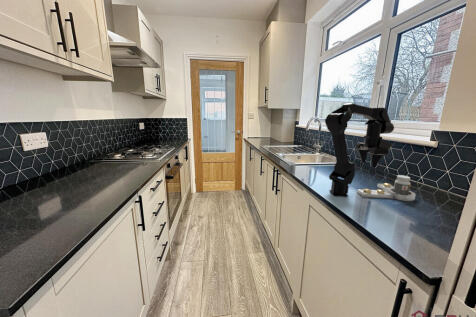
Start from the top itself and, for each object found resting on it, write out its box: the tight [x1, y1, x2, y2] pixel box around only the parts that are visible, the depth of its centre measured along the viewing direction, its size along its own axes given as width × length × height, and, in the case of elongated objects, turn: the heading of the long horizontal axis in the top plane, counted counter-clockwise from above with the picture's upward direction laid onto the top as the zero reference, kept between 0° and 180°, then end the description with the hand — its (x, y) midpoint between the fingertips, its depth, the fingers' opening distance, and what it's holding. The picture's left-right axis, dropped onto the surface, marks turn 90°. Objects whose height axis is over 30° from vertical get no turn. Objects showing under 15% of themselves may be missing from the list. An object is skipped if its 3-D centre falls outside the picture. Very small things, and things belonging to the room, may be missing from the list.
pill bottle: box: [393, 174, 411, 195], centre depth 90 cm, size 6×6×10 cm
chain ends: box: [356, 182, 416, 202], centre depth 96 cm, size 23×18×3 cm
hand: (368, 165), depth 97 cm, fingers open, 9 cm apart
